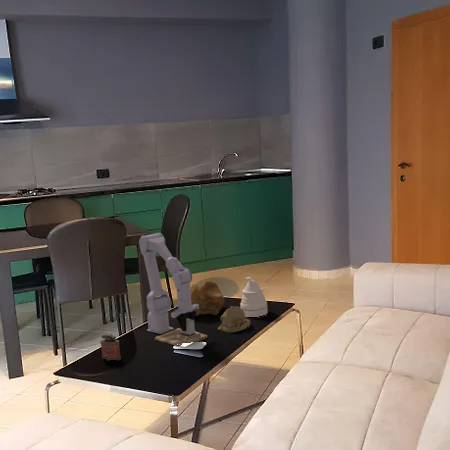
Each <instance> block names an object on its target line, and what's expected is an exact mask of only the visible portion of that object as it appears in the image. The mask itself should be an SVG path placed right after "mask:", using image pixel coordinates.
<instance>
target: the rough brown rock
mask: <svg viewBox="0 0 450 450" xmlns="http://www.w3.org/2000/svg"><path fill="white" fill-rule="evenodd" d="M190 291H191V303H192V305H193V304H199V309H195V310H194V311H196V315H195V316H196V317H197V316H199V315H207V314H210V315H213V316H217V315H218V314H219V313H220V311H221V310H222V308H223V305H224V304H225V297H224V295H223V294H222V292H221V290H220V288H219V286H218V284H217V283H216V282H215V281H214V280H211V279H206V280H204V281H203V283H202V285H201V286H198V285H197V284H195V283H193V284H192V285H191V286H190Z"/></svg>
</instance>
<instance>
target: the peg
mask: <svg viewBox="0 0 450 450" xmlns="http://www.w3.org/2000/svg"><path fill="white" fill-rule="evenodd" d="M195 329H196V328H195V319H194V320H192V319H188V318H187V320H186V331H182V330H181V332H182V335H184V336H188V337H190V336H192V335H194V334H195V332H196V330H195Z"/></svg>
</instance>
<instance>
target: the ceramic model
mask: <svg viewBox="0 0 450 450" xmlns="http://www.w3.org/2000/svg"><path fill="white" fill-rule="evenodd" d="M220 321H221V324H220V325H219V327H217V330H219V331H222V332H225V333H236V332H239V331H242V330H245V329H248V328H249V327H250V326H251V320H250V319H249V318H247V317H246V316H245V313H244V311H243V309H241V307H240V306H234V305H230V308H227V309H226V310H225V311H224V312H223V314H222V315H221V316H220ZM247 327H248V328H247Z"/></svg>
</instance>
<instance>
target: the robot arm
mask: <svg viewBox="0 0 450 450" xmlns="http://www.w3.org/2000/svg"><path fill="white" fill-rule="evenodd" d="M138 244H139V250H140V253H141V255H142V256H143V260H144V264H145V268H146V269H145V270H146V273H147V279H148V283H149V288H150V292H149V293H148V294H147V296H146V308H147V310H148V313H147V324H148V325H147V326H148V327H147V328H148V329H147V332H151V333H155V334H160V335H163V334H165V333H168V332H170V331H173V330H174V327H172V326H170V323H169V322H170V321H169V311H170V308H171V306H172V300H171V297H170V295H169V292H168V291H167V290H165V289H164V288H163V286H162V280H161V276H160V271H159V267H158V262H157V257H156V255H157V253H158V255H160V256H161V258H162V259H163V260H164V261H165V267H166V269H167V270H168V271H169V272H170V274H171V275H172V281H173V283H174V288H175V289H176V298H177V309H176V310H174V311H173V312H171V313H170V316H171V318H172V319H173V318H174V319H176V320H177V323H178V324H179V326H180V329H181V330H182V331H186V320H187V318H188V319H192V320H194V321H195V316H196V311H194V310H195V309H199V304H193V305H192V303H191V291H190V290H191V282H192V281H193V274H192V272H191V269H189V268H187V267H184V266H183V265H182V263H181V262H180V260H179V259H178V258H177V257H175V256H173V255H172V253H171V251H170V250H169V249H168V247H167V245H166V238H165V237H164V235H163V234H162V233H161V232H157V233H153V234H148V235H141V236H140V238H139V241H138Z"/></svg>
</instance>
